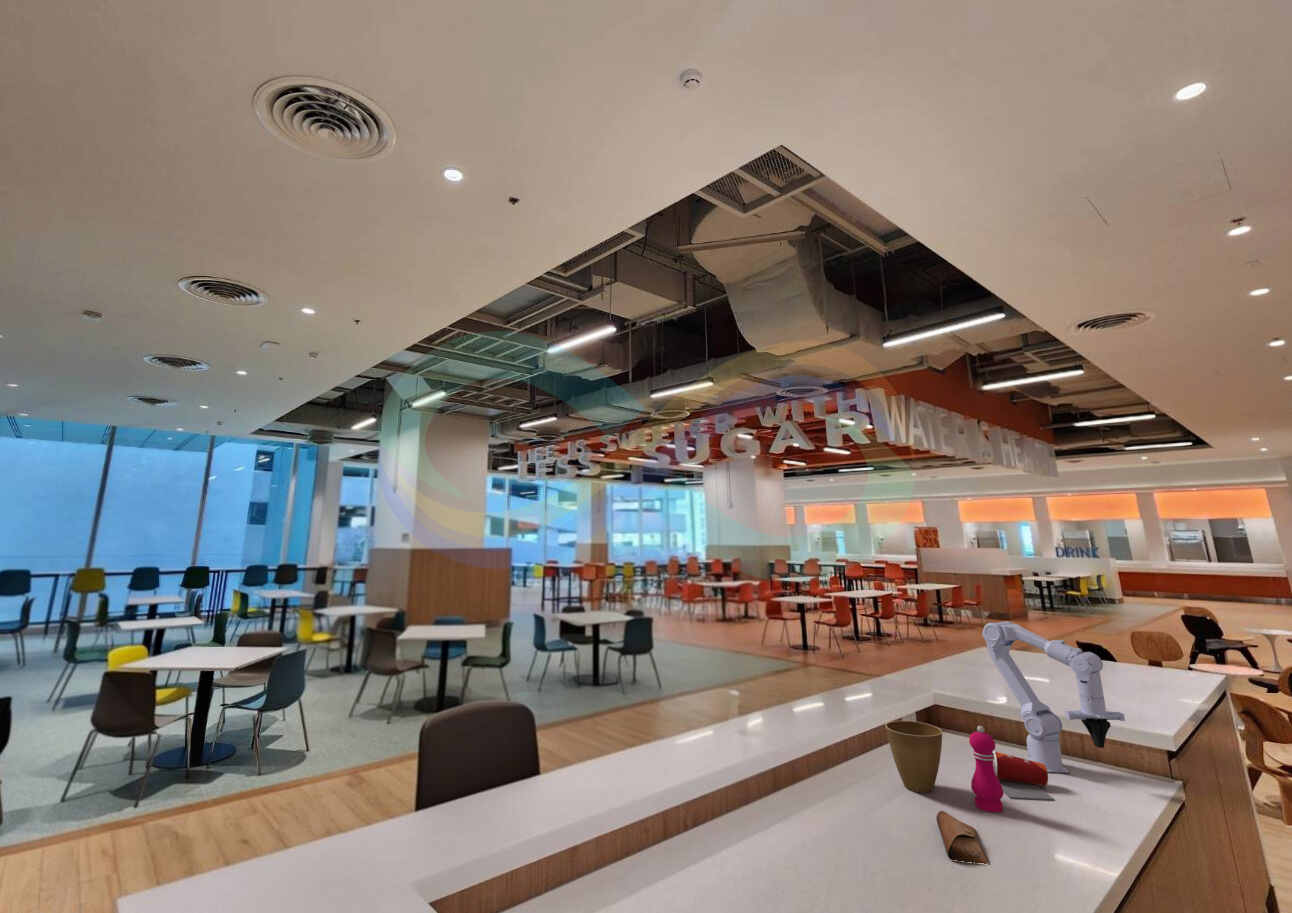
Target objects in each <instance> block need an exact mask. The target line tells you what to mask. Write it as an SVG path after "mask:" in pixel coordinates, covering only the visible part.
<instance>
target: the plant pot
mask: <svg viewBox="0 0 1292 913" xmlns="http://www.w3.org/2000/svg"><path fill="white" fill-rule="evenodd" d="M885 730H886V734H887V735H886V736H887V740H888V743H889V746H890V750H891V754H892V758H893V761H894V763H895V765H896V769H897V771H898V774H899V777H900V779H901V782H902V784H903V785H904V788H906V789H907V790H909V791H913V792H917V793H923V794H924V793H931V792H932V791H933V790H934V788H935V784H936V782H937V776H938V773H939V768H940V762H941V754H942V745H943V744H942V743H943V730H942V729H941V728H939V727H938V726H935V725H933V724H929V723H925V722H921V721H911V720H896V721H895V720H894V721H890V722H887V723H885Z"/></svg>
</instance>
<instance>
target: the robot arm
mask: <svg viewBox="0 0 1292 913" xmlns="http://www.w3.org/2000/svg"><path fill="white" fill-rule="evenodd" d="M982 630H983V631H982V634H981V635H982V637H983V639H984V640H985V642H986V647H987V651H988V655H989V657H990V658H991V660H992V661H993V663H994V664H995V666H996V667H997V669H998V671H999V673H1000V674H1001V676H1002V678H1003V679H1004V680H1005V682H1006V683H1007V685H1008V687H1009V688H1010V690H1011V692H1012V694H1013V695H1014V697H1015V699H1016V700H1017V702H1018V703H1019V705H1020V707H1021V711H1020V716H1021V718H1022V720H1023V723H1024V727H1025V730H1026V731H1027V732H1028V735H1027V737H1026V748H1027V749H1026V750H1027V755H1028V756H1027V758H1026V759H1027V760H1031V761H1035V762H1039V763H1042V764H1044V765H1045V766H1046V768H1047V772H1048V773H1065V774H1069V773H1070V770H1069V769H1068V768H1065V766H1063V759H1062V751H1061V744H1060V733H1061V732H1062V731H1063V722H1062V720H1061V718H1060V717H1058V715H1056V714H1055V713H1054V712H1053V711H1052V710H1051V708H1050V707H1049V706H1048V705H1046V704H1045V703H1043V702H1042V701H1040V699H1039V697H1038V696H1037V695H1036V693H1035V692H1034V690H1033V688H1032V687H1031V686H1030V684H1029V682H1028V681H1027V679H1026V678H1025V676H1024V674H1023V673H1022V672H1021V669H1019V666H1018V665H1017V664H1016V662H1015V660H1014V659H1013V658H1012V656H1011V654H1010V650H1011V647H1012V646H1013V645H1014V644H1015V642H1016V641H1020V642H1023V643H1025V644H1028V645H1030V646H1033V647H1035V648H1038V649H1040V650H1042V651H1044V652H1045V653H1046V655H1047V657H1048V658H1050V659H1053V660H1055V661H1057V662H1058V663H1061V664H1064V665H1066V666H1068V667H1069V668H1071V670H1072V671H1073V672H1074V673H1075V678H1076V683H1077V688H1078V689H1077V690H1078V697H1079V703H1080V708H1081V709H1079V710H1064V714H1065V718H1066V720H1070V721H1074V720H1081V722H1082V724H1083V725H1084V727H1085V728H1086V730H1087V731H1088V733H1089V735H1090V737H1091V740H1092V742H1093V745H1094V746H1095V747H1097V748H1100V749H1104V748H1105V743H1106V739H1107V738H1106V737H1107V734H1108V731H1109V730H1110V729H1111V726H1112V725H1111V722H1109V721H1122V722H1125V720H1126V719H1125V714H1124V713H1123V712H1120V711H1109V710H1108V711H1107V709H1106V708H1107V707H1106V702H1105V696H1104V695H1105V694H1104V689H1103V684H1102V678H1101V671H1102V670H1103V667H1104V664H1103V661H1102V659H1101V658H1100V657H1099V656H1098V655H1097V654H1095V653H1094V652H1092V651H1085V652H1083V651H1082V649H1081V648H1079V647H1077V648H1076V647H1073V646H1070V645H1069V644H1066V643H1065V641H1064V640H1062V639H1058V640H1057V639H1053V640H1048V639H1046V638H1044V637H1043V636H1040V635H1038V634H1036V633H1034V632H1032V631H1031V630H1028V629H1026V628H1024V627H1022V626H1021V625H1019V624H1017V623H1013V622H1012V621H1009V620H1008V621H1007V620H1005V621H998V622H987V623H986V624H985V625H984V627H983V629H982Z"/></svg>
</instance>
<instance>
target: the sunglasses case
mask: <svg viewBox="0 0 1292 913" xmlns="http://www.w3.org/2000/svg"><path fill="white" fill-rule="evenodd" d="M935 818H936V823H937V827H938V829H939V833H940V836H941V838H942V842H943V844H944V848H945V853H946V855H947V857H948V859H949V860H950V861H951V859H952V860H957V861H964V862H972V863H974V862H975V863H984V864H987V863H988V862H989V860H988V858H987V856H986V854H985V851H984V850H983V848H982V845H981V843H980V840H979V838H978V835H977V832H976V828H974V827H972V826H971V825H968V824H967V823H965V822H963V821H960V820H959V819H957V818H956V817H954V816H953V815H951V814H950V813H948V812H946V811H944V810H940V811H939V812H938V813H936V817H935Z"/></svg>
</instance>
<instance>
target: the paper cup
mask: <svg viewBox="0 0 1292 913" xmlns="http://www.w3.org/2000/svg"><path fill="white" fill-rule="evenodd" d="M993 753H994V758H995V759H994V760H993V767H994V771H995V774H996V776H997V778H998V779H1003V780H1010V781H1016V782H1023V783H1029V784H1035V785H1037V786H1046V787H1047V785H1048V783H1049V775H1048V774H1049V772H1047V768H1046V766H1045V765H1044V764H1042V763H1039V762H1035V761H1031V760H1027V759H1028V758H1023V757H1018V756H1014V755H1012V754H1007V753H1002V752H999V751H996V750H994V751H993Z"/></svg>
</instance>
